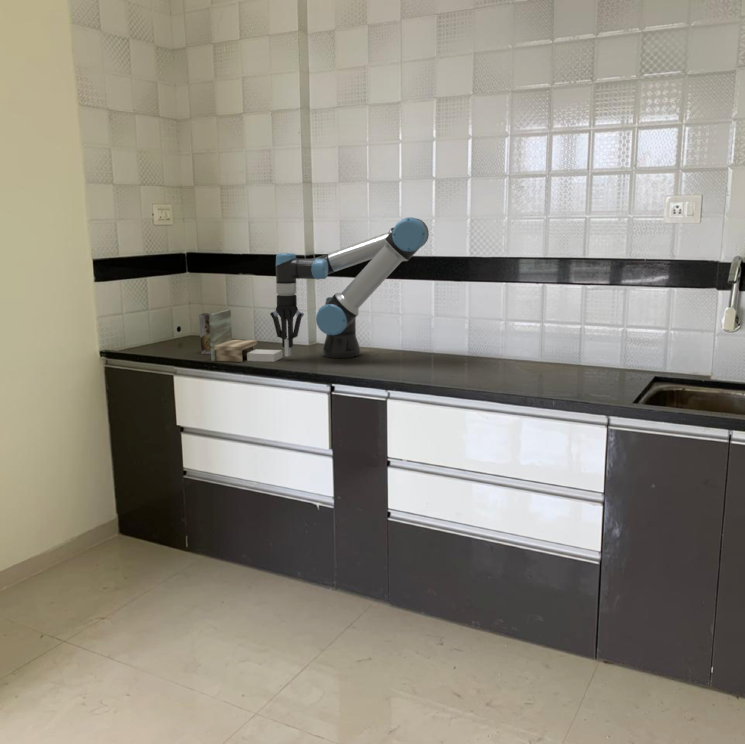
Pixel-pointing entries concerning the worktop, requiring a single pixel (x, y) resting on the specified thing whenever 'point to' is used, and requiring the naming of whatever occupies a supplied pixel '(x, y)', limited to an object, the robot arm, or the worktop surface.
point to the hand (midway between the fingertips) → (287, 355)
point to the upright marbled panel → (226, 339)
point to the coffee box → (205, 333)
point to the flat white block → (264, 355)
